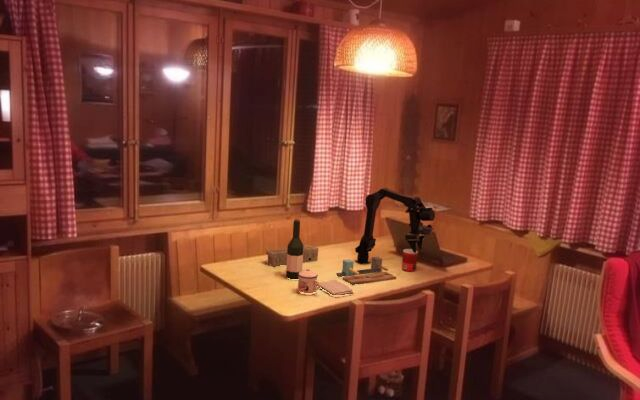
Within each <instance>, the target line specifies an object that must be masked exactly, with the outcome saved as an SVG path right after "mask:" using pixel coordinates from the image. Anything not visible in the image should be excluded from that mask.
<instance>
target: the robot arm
mask: <svg viewBox="0 0 640 400" xmlns="http://www.w3.org/2000/svg"><path fill="white" fill-rule="evenodd" d="M385 198H388V199H391V200H393V201H397V202H399V203H401V204H403V205H404V206H405V207H407V209H406V210H405V211H404V212H405V214H406V213H407V214H408V215H409V216H408V217H409V223H408V226H409V228H410V231H409V233H406V235H404V240H406V242H407V243H408V245H409V246H410V249H412V250H413V252H414V253H416V251H417V247H418V248H419V249H418V250H422V249H423V245H424V244H423V243H424V240H425V238H426V237H427V236H430V235H432V234H433V231H434V228H433V225H432V224H431V223H430V224H428V225H424V223H423V222H433V221H435V219H436V213H435V210H434V209H433V207H432V206H431V207H426V206H425V205H424V203H423V202H422V201H421V200H422V199H421V198H420V197H419V196H416V195H409V194H408V195H407V194H404V193H400V192H398V191H396V190H392V189H389V188H388V187H384V188H383V187H382V188H380V189H379V190H378V191H375V192H373V193H372V194H368V195H366V196H365V207H366V217H365V224H364V230H363V231H364V232H363V235H362V236H361V239H360V241H359V244H358V245H357V246H356V247H355V248H354V250H355V251H354V252H355V253H357V256H356V257H357V259H356V260H354V263H357V264H359V265H368V264H371V262H370V261H369V256H370V255H369V254H370V253H369V252H372V250H373V249H374V247H375V246H376V241H377V238H374V235H373V234H374V229H375V221H376V215H377V210H378V208H379V207H380V204H381V201H382V200H383V199H385Z"/></svg>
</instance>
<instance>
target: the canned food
mask: <svg viewBox="0 0 640 400" xmlns="http://www.w3.org/2000/svg"><path fill="white" fill-rule="evenodd" d="M418 256H419V251H418V250H416V253H414V252H413V250H412V248H405V249H403V250H402V260H401V270H402V271H403V272H406V273H415V272H416V271H417V267H418Z"/></svg>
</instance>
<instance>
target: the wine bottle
mask: <svg viewBox="0 0 640 400" xmlns="http://www.w3.org/2000/svg"><path fill="white" fill-rule="evenodd" d="M292 226H293V228H292V238H291V240H290V241H289V242H288V244H287V247H286V248H287V265H286V269H285V270H286V272H285V278H286V277H288V278H290V279H299V275H298V274H299V272H301V271H303V264H304V263H303V247H304V246H305V245H304V244H303V242H302V239H301V238H300V235H301V234H300V231H301V221H300V219H299V218H295V219H294V220H293V225H292Z"/></svg>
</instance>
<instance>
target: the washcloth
mask: <svg viewBox="0 0 640 400" xmlns="http://www.w3.org/2000/svg"><path fill="white" fill-rule="evenodd" d="M319 282H320V287H321V288H322V289H324V290H326V291H327V292H329V293H330V294H332V295H345V294H353V295H354V292H353V289H352V288H350V287H349V285H347V284H345V283H343V282H341V281H339V280H338V279H330V280H327V281H319ZM317 286H318V284H317Z"/></svg>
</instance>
